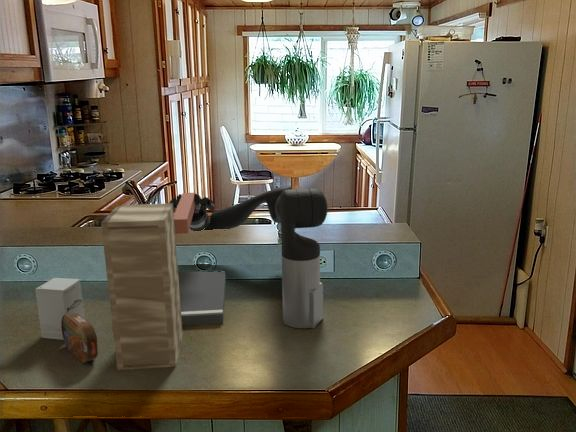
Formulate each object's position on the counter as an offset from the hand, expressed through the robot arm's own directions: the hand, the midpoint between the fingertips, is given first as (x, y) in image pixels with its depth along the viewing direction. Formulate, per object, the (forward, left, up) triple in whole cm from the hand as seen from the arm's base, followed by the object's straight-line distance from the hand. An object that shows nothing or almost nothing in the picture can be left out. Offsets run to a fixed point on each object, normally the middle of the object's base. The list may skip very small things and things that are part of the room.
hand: (187, 197), depth 144 cm
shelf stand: (-12, +34, -27) cm, 45 cm away
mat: (-4, +7, -27) cm, 28 cm away
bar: (-4, +7, -4) cm, 9 cm away
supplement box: (+13, +35, -27) cm, 46 cm away
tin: (+2, +41, -27) cm, 49 cm away
